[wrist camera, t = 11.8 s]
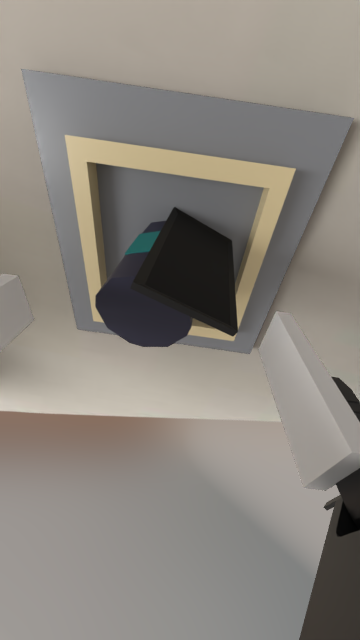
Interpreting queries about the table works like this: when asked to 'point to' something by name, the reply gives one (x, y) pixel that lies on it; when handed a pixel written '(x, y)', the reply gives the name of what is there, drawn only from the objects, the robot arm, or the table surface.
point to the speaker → (171, 284)
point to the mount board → (178, 183)
